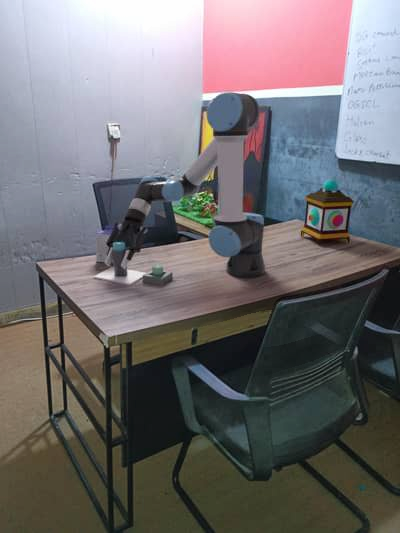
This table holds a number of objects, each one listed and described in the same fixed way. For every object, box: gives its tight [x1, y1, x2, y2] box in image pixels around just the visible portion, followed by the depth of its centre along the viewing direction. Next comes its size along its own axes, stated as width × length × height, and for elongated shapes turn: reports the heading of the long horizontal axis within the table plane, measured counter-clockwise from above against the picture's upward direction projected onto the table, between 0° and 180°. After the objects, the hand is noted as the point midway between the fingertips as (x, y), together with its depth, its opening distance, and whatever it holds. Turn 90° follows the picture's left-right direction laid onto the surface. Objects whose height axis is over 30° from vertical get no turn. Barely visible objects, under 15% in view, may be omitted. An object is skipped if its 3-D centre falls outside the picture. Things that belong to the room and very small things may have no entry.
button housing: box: [142, 269, 173, 286], centre depth 159 cm, size 8×8×2 cm
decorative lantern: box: [300, 178, 355, 247], centre depth 210 cm, size 20×20×30 cm
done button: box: [151, 264, 164, 277], centre depth 158 cm, size 4×4×3 cm
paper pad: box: [93, 266, 147, 286], centre depth 162 cm, size 16×12×1 cm
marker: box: [113, 241, 128, 276], centre depth 160 cm, size 5×5×12 cm
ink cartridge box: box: [94, 225, 123, 264], centre depth 176 cm, size 10×6×14 cm, turn 78°
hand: (115, 265), depth 157 cm, fingers open, 6 cm apart
